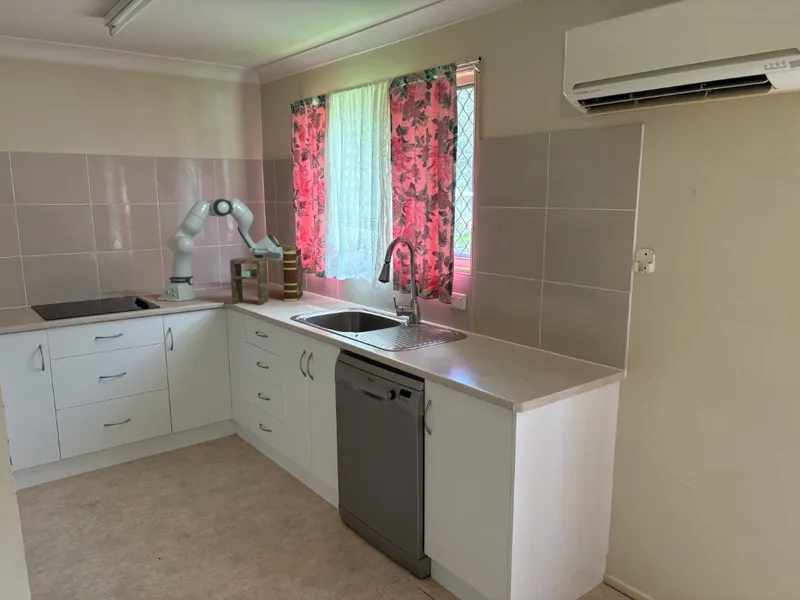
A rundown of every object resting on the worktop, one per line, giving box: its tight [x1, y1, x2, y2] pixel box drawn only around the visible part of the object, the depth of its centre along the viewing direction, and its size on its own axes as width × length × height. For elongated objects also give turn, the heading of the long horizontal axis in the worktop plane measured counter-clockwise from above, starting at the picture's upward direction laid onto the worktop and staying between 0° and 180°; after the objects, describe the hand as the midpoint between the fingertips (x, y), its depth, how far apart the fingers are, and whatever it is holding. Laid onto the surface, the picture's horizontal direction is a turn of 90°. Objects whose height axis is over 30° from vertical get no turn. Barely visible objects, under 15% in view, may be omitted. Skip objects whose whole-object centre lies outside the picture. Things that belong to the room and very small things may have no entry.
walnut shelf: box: [229, 257, 269, 306], centre depth 347 cm, size 18×11×26 cm, turn 82°
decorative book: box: [282, 248, 304, 302], centre depth 363 cm, size 22×8×30 cm, turn 179°
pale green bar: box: [241, 267, 257, 277], centre depth 349 cm, size 4×19×3 cm, turn 172°
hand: (259, 249), depth 365 cm, fingers open, 8 cm apart
